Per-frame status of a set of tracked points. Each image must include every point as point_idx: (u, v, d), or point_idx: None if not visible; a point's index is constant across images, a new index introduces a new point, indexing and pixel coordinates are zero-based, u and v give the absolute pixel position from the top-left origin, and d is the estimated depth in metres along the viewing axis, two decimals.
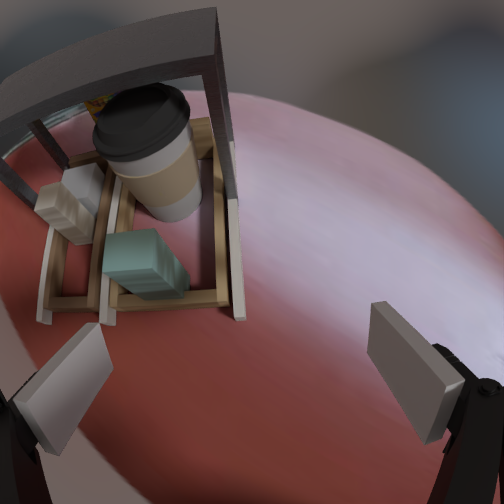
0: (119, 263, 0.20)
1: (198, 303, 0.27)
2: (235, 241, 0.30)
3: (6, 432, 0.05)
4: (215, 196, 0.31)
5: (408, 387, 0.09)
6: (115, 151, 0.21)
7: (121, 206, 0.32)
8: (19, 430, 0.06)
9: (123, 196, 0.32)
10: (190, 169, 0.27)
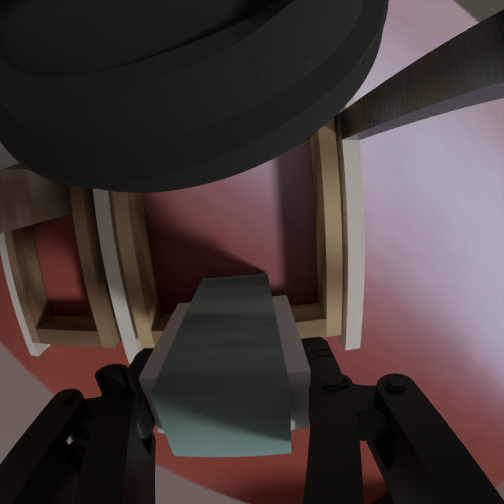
0: (211, 448, 0.08)
1: None
2: (357, 230, 0.16)
3: (126, 421, 0.07)
4: (322, 134, 0.14)
5: None
6: (84, 172, 0.04)
7: None
8: (144, 411, 0.08)
9: None
10: None
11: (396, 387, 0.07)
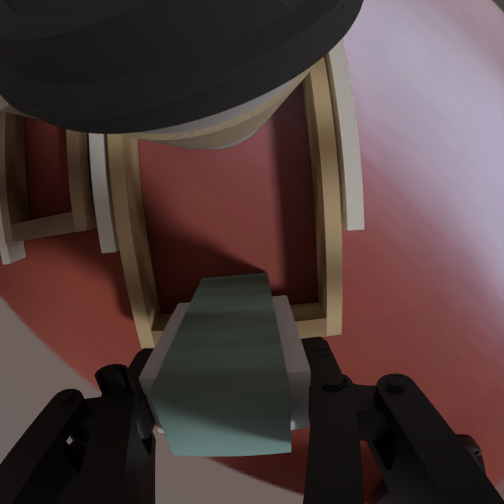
0: (211, 447, 0.08)
1: None
2: (346, 95, 0.14)
3: (126, 421, 0.07)
4: (321, 133, 0.14)
5: None
6: (70, 106, 0.04)
7: (112, 152, 0.14)
8: (144, 411, 0.08)
9: None
10: None
11: (396, 387, 0.07)
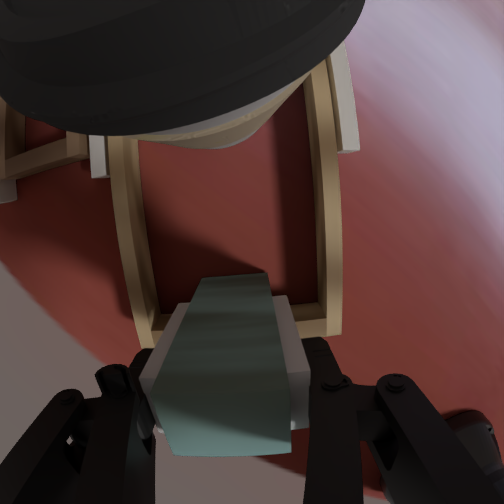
0: (211, 447, 0.08)
1: None
2: None
3: (126, 421, 0.07)
4: (322, 133, 0.14)
5: None
6: (70, 109, 0.04)
7: (112, 152, 0.14)
8: (144, 411, 0.08)
9: None
10: None
11: (396, 387, 0.07)
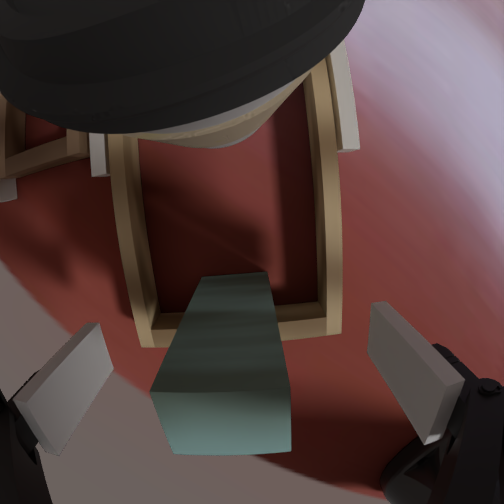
0: (211, 446, 0.08)
1: None
2: None
3: (6, 432, 0.05)
4: (322, 132, 0.14)
5: (408, 387, 0.09)
6: (71, 107, 0.04)
7: (112, 151, 0.14)
8: (19, 430, 0.06)
9: None
10: None
11: None
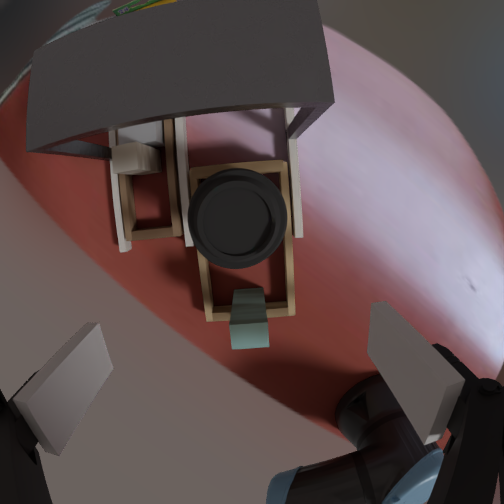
0: (244, 344, 0.31)
1: None
2: (296, 178, 0.36)
3: (6, 432, 0.05)
4: (286, 232, 0.37)
5: (408, 387, 0.09)
6: (226, 265, 0.27)
7: None
8: (19, 430, 0.06)
9: None
10: None
11: None
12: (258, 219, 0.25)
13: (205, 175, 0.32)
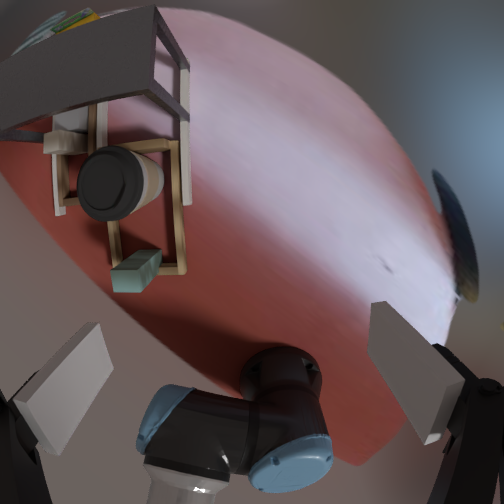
0: (122, 288, 0.36)
1: None
2: (184, 154, 0.41)
3: (6, 432, 0.05)
4: (173, 200, 0.42)
5: (408, 387, 0.09)
6: (99, 218, 0.32)
7: None
8: (19, 430, 0.06)
9: None
10: (151, 194, 0.37)
11: None
12: (116, 182, 0.30)
13: None
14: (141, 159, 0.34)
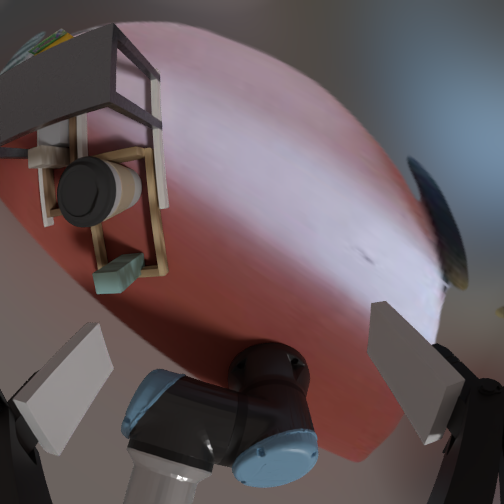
0: (104, 290, 0.37)
1: None
2: (158, 160, 0.42)
3: (6, 432, 0.05)
4: (150, 204, 0.43)
5: (408, 387, 0.09)
6: (78, 225, 0.33)
7: None
8: (19, 430, 0.06)
9: None
10: (127, 200, 0.39)
11: None
12: (91, 190, 0.31)
13: None
14: (114, 167, 0.35)
